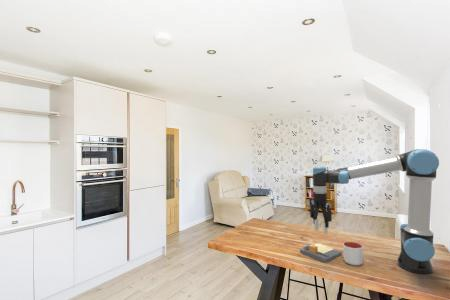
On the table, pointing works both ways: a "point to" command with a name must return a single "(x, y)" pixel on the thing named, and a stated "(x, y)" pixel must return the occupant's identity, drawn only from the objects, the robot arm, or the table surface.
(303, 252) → the gray square tray
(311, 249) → the toggle
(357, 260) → the cup
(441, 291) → the table surface
